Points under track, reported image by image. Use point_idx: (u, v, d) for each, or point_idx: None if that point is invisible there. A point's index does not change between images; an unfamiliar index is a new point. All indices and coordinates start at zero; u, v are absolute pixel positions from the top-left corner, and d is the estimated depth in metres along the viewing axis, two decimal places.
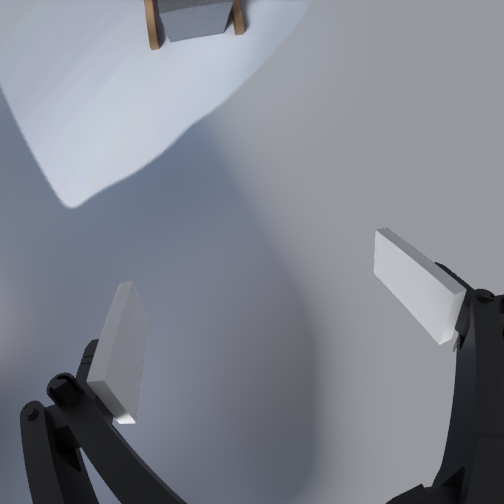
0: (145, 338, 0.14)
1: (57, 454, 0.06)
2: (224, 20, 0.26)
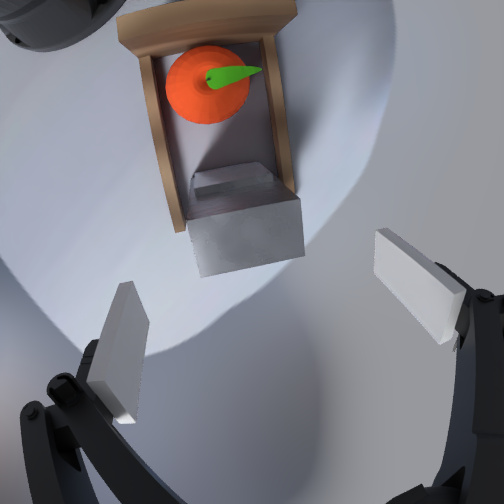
0: (145, 338, 0.14)
1: (57, 454, 0.06)
2: None
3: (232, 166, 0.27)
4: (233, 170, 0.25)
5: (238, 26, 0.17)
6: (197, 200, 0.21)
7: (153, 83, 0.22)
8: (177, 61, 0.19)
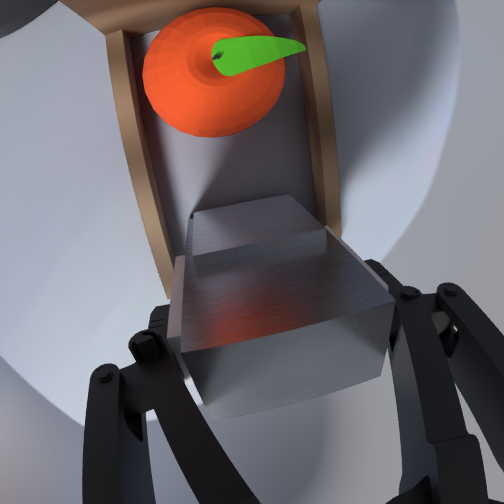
0: None
1: (123, 422, 0.07)
2: None
3: (251, 202, 0.18)
4: (255, 213, 0.16)
5: None
6: (200, 283, 0.12)
7: (126, 72, 0.13)
8: (162, 31, 0.10)
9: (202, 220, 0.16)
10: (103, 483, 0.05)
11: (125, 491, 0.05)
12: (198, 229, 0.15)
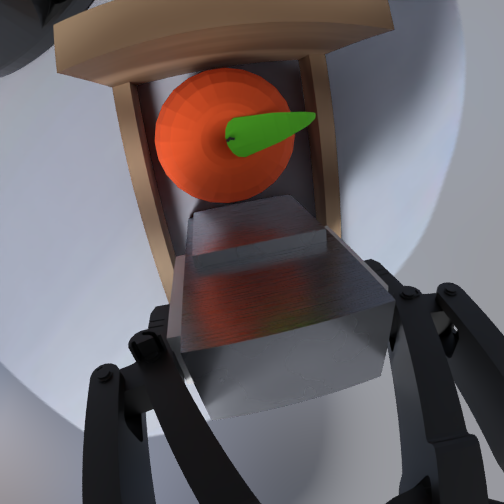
0: None
1: (123, 422, 0.07)
2: None
3: (251, 203, 0.18)
4: (255, 213, 0.16)
5: (283, 37, 0.10)
6: (199, 283, 0.12)
7: (136, 128, 0.14)
8: (173, 97, 0.12)
9: (202, 220, 0.16)
10: (103, 483, 0.05)
11: (125, 491, 0.05)
12: (198, 229, 0.15)
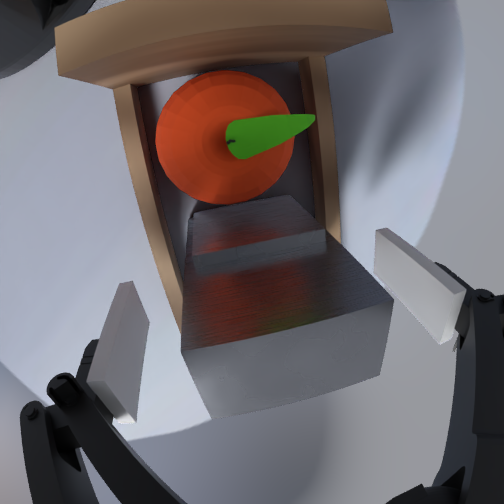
0: (145, 338, 0.14)
1: (57, 454, 0.06)
2: None
3: (251, 203, 0.18)
4: (255, 213, 0.16)
5: (282, 40, 0.10)
6: (200, 282, 0.12)
7: (137, 130, 0.15)
8: (173, 100, 0.12)
9: (202, 220, 0.17)
10: None
11: None
12: (198, 229, 0.15)
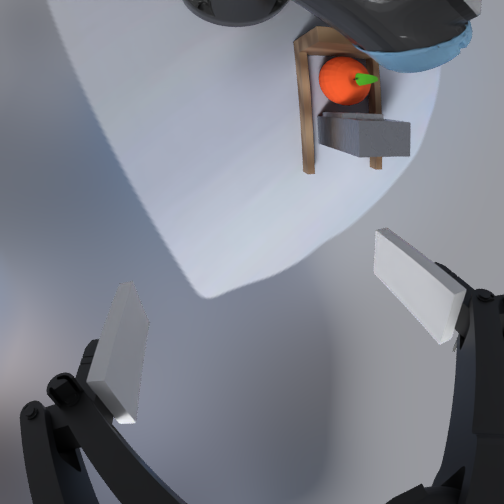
0: (145, 338, 0.14)
1: (57, 454, 0.06)
2: None
3: None
4: (352, 112, 0.35)
5: None
6: (348, 118, 0.31)
7: (307, 71, 0.33)
8: (334, 62, 0.30)
9: None
10: None
11: None
12: (333, 112, 0.34)
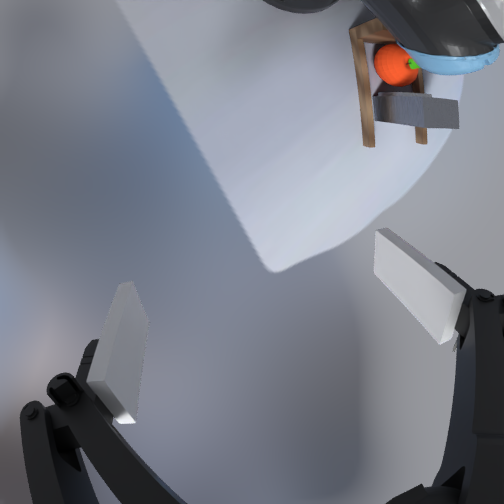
0: (145, 338, 0.14)
1: (57, 454, 0.06)
2: None
3: None
4: None
5: None
6: None
7: (365, 56, 0.34)
8: (389, 48, 0.31)
9: (387, 92, 0.36)
10: None
11: None
12: (390, 92, 0.35)
